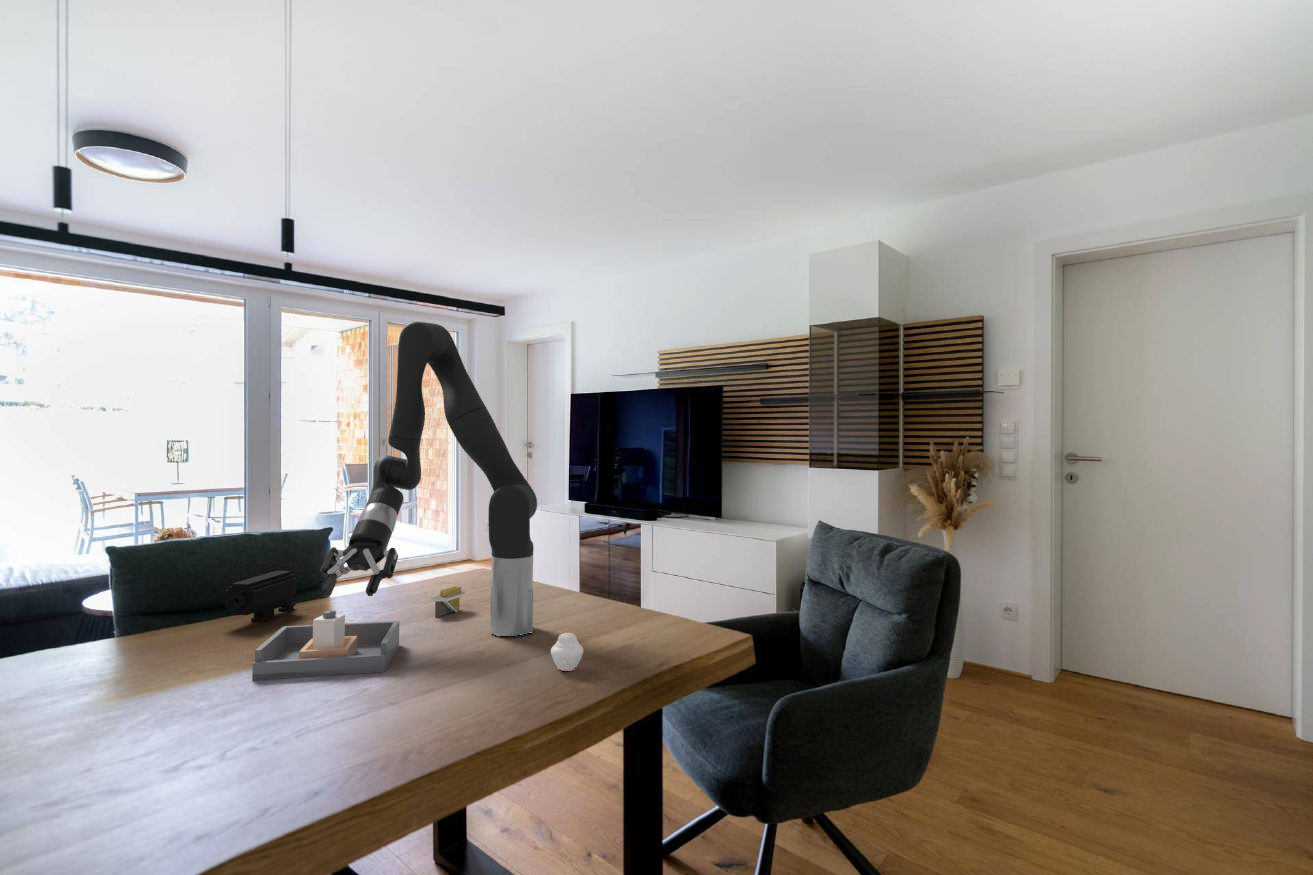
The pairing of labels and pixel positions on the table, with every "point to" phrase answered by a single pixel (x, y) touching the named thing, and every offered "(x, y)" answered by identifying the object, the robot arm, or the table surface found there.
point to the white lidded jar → (567, 651)
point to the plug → (329, 631)
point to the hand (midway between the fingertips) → (347, 593)
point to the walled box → (326, 652)
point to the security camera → (262, 595)
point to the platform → (447, 600)
